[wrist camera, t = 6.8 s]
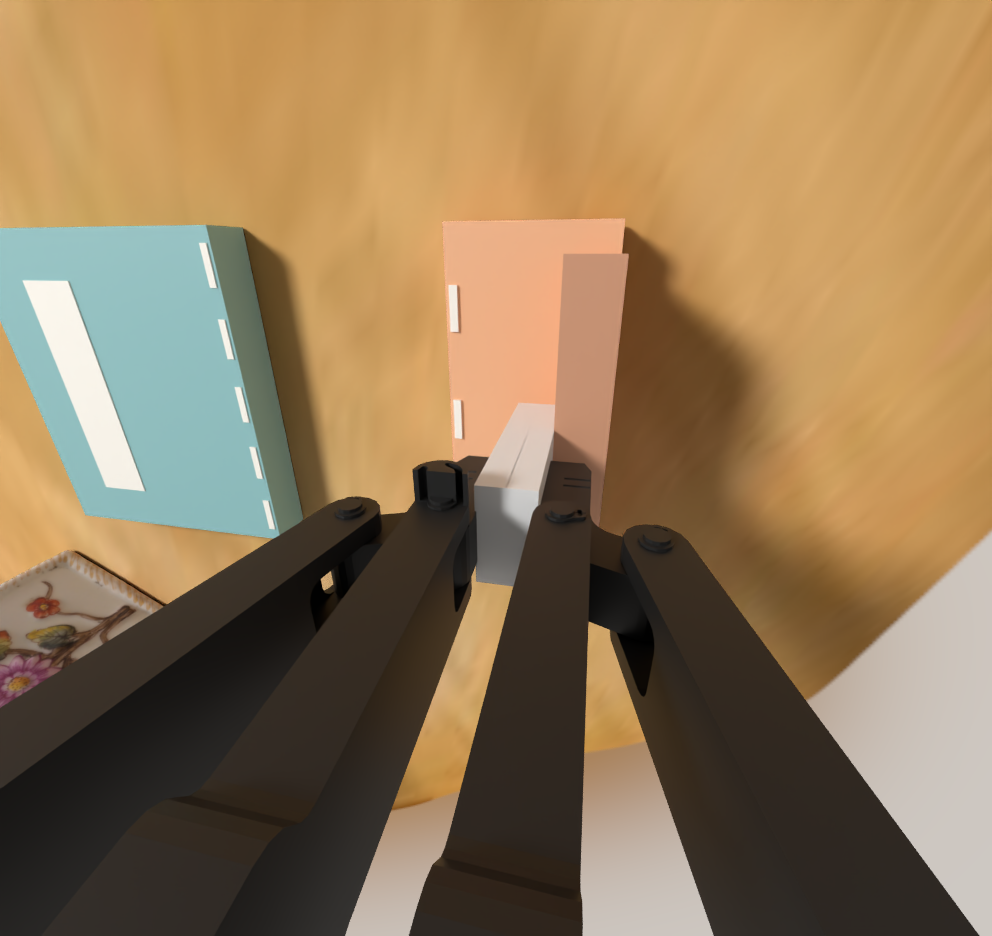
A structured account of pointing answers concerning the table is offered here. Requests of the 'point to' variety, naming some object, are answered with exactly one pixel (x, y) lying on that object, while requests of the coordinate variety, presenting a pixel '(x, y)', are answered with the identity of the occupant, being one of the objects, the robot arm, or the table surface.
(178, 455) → the ticket
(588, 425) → the stub
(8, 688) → the decorative jar
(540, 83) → the table surface
